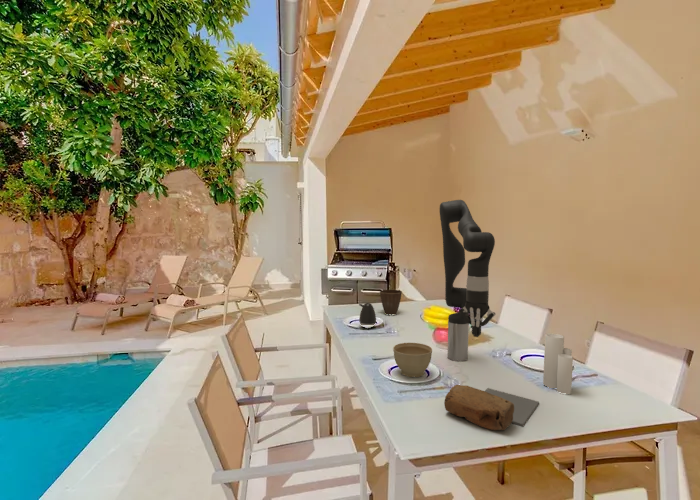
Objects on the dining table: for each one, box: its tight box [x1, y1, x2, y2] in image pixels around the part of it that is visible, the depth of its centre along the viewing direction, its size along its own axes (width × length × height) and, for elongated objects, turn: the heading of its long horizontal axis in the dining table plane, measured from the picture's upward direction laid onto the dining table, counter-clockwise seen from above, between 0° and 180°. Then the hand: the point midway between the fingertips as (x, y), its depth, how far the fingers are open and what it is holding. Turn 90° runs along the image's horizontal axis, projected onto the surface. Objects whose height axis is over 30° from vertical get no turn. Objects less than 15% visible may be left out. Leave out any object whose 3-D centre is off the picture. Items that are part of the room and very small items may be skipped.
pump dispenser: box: [358, 302, 377, 326], centre depth 236 cm, size 10×10×15 cm
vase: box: [542, 332, 574, 394], centre depth 150 cm, size 11×7×20 cm, turn 27°
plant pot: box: [379, 289, 403, 315], centre depth 270 cm, size 15×15×16 cm
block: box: [443, 384, 514, 431], centre depth 127 cm, size 11×8×20 cm
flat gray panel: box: [484, 387, 540, 428], centre depth 136 cm, size 20×18×1 cm
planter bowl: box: [392, 342, 433, 378], centre depth 165 cm, size 16×16×11 cm
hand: (476, 336), depth 141 cm, fingers closed
